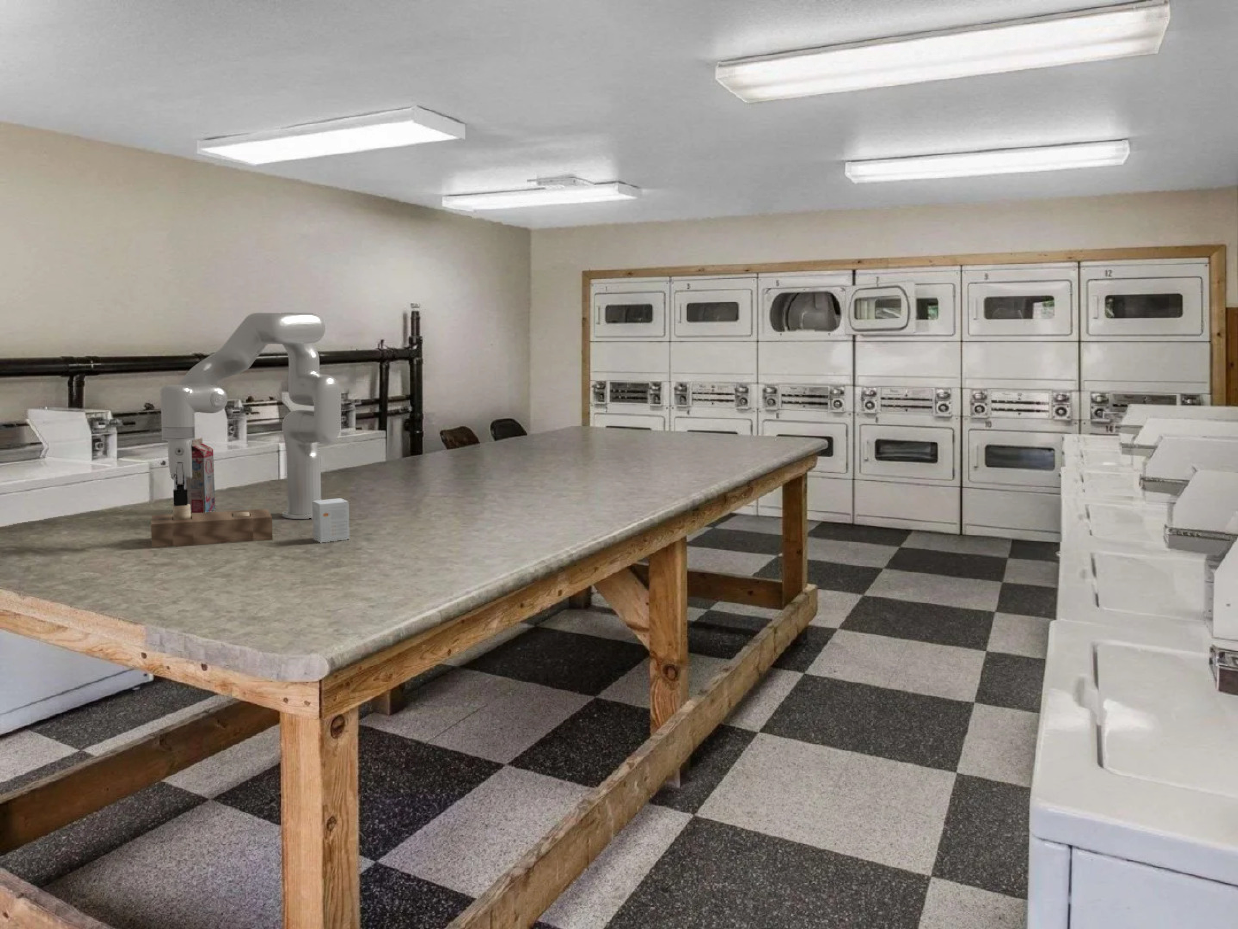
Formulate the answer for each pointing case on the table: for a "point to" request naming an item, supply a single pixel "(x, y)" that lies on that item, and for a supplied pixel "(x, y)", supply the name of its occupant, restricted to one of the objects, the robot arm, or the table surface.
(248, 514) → the peg
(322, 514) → the small box
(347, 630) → the table surface
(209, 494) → the juice carton
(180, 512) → the peg
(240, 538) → the press block
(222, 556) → the table surface
